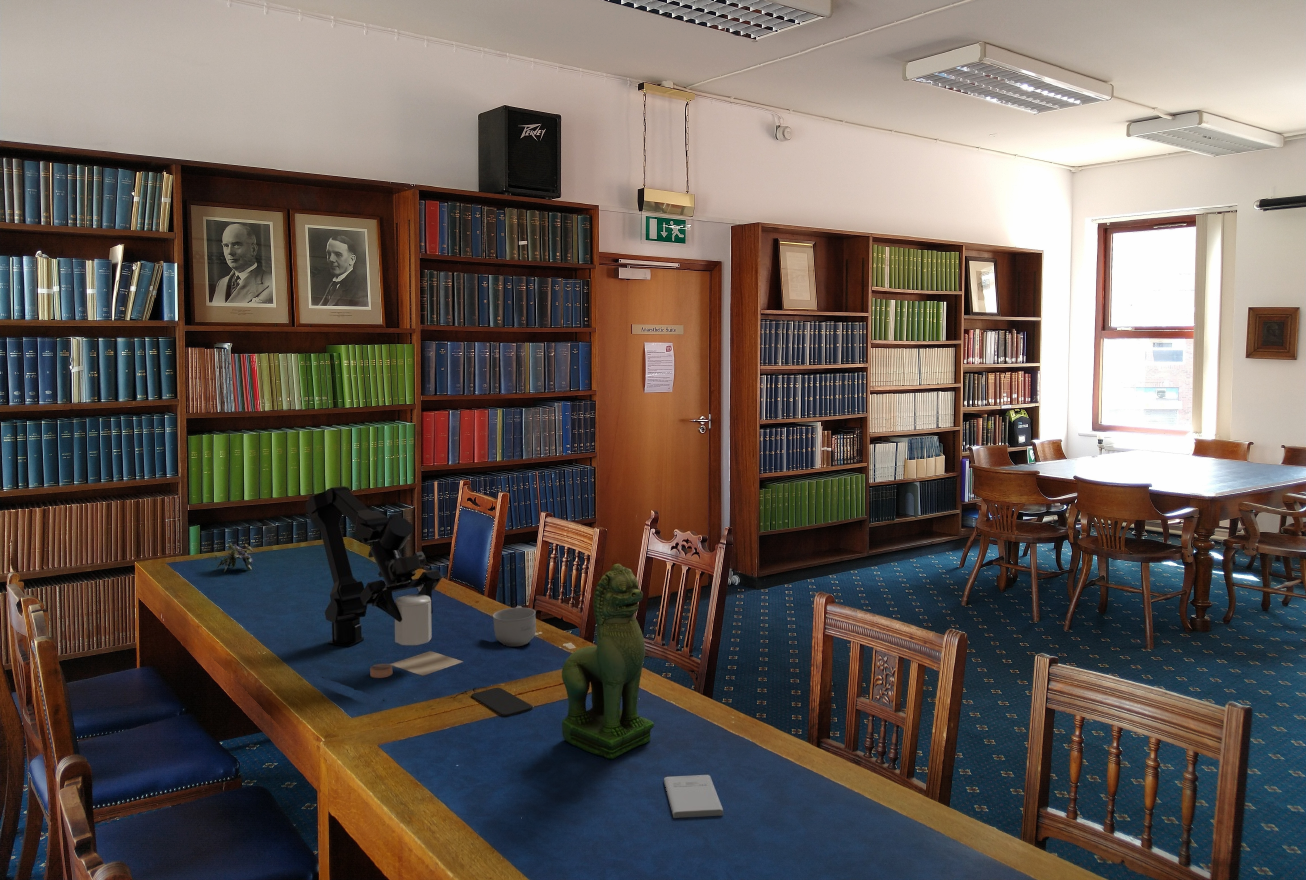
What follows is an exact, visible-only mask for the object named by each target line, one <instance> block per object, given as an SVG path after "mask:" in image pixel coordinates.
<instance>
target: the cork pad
mask: <svg viewBox="0 0 1306 880" xmlns="http://www.w3.org/2000/svg"><path fill="white" fill-rule="evenodd" d="M461 663H464V661H463V660H459V659H457V658H453V657H451V656H447V655H444V654H441V653H438V652H434V651H433V650H429V651H427V652H423V653H420V654H418V655H414V656H410V657H408V658H405V659H401V660H398V661H395V662H391V663H389V664H390V665H392V667H395V668H398V669H402V670H404V671H408V672H410V673H413V674H415V675H416V674H417V675H419V676H422V677H424V676H426V675H429V674H430V675H431V674H432V673H435V672H438V671H441V670H443V669H446V668H449V667H452V666H455V665H458V664H459V665H460V664H461Z"/></svg>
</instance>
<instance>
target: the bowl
mask: <svg viewBox="0 0 1306 880" xmlns="http://www.w3.org/2000/svg"><path fill="white" fill-rule="evenodd" d="M390 664H391V663H378V664H374V665H371V667H370V668H369V669H370V670H369V672H370V674H369V675H370V677H371V678H375V679H383V678H388V677H390V676H392V675H393V666H392V665H390Z"/></svg>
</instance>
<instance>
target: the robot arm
mask: <svg viewBox="0 0 1306 880" xmlns="http://www.w3.org/2000/svg"><path fill="white" fill-rule="evenodd" d="M305 510H306V512H307V514H308V516H309V519H310V521H311V522H312V523H313V525H314V526H315V527H316V528H317V529H319V530H320V534H321V539H322V542H323V547H324V550H325V551H324V552H325V554H326V557H327V561H328V565H329V569H330V573H331V577H332V583H333V585H332V588H331V591H330V594H329V598H330V602H329V604H328V605H327V607H326V609H325V610H324V616H325V620H327V621H328V622H330V623H331V635H332V636H331V640H330V641H328V642H327V643H328V645H333V646H340V647H341V646H343V647H351V646H353V645H355V644H357V643H359V642H362V641H363V640H365V636H362V624H361V618H365V617H366V614H367V610H368V605H371V606H372V607H373V608H374V607H376V608H377V609H380V610H381V611H383V612H385V613H386V614H387V615H388V616H390V617H392V618H393V619H394V620H395V619H396V620H397V621H398V622H401V621H402V617H401V614H400V612H399V610H398V608H397V606H396V604H395V599H394V597H393V593H395V592H399V591H404V590H405V591H406V590H411V589H414V588H416V590H417V592H418V593H417V595H426V596H429V597H430V600H431V615H432V614H433V612H434V610H433V598H432V597H433V596H432V595H433V594H432V593H433V591H434V590H435V589H436V588H437V586H438V585H439V583H440V582H441V580H443V576H442V574H441V572H440V571H439V570H438V569H431V570H425V571H422V573H421V574H420V576H419V577H418V578H414V579H413V577H414V576H415V575H416V574H417V573H416V571H417V570H421V569H422V567H423V566H425V565H426V564H427V558H426V555H425V554H424V552H423V551H418V552H415V553H413V554H412V555H411V556H402V555H401V552H400V550H401V549H402V548H403V547H404V546H405V544H406V542H407V541H408V540H409V538H410V536H411V534H412V533H413V530H414V527H413V524H412V523H411V522H410V521H409V520H407V519H406V518H404V517H400V515H399V514H398V513H393V514H389V516H386V515H385V514H383V513H381V512H378V511H374V510H371V509H369V508H368V507H367V506H366V505H365V504H364V503H363V502H362V501H361V500H359V498H358V497H357V496H355V495H354V494H353V493H352V492H351V489H350V488H349V486H345V485H344V486H343V485H342V486H332V487H329V488H326V489H325V491H322V492H319V493H317V494H312V495H310V496H309V498H308V500H306V501H305ZM343 515H344V516H345V517H346V518H347V519H348V520H349V521H350V522H351V523H352V524H353V525H354V533H355V535H356V536H357V538H358V539H359V540H360V541H361V542H362V543H363V544H365V543H370V542H373V544H372V545H370V549H369V551H368V555H367V556H368V558H369V559H370V558H374V561H375V563H376V564H377V567H378V570H379V572H378V573H377V575H378V576H379V578H383V579H379V580H374V581H370V582H369V581H368V582H367V583H366V585H365V586H364V582H363V581H361V580H357V579H356V578H355V577H354V576H353V572H352V568H351V563H350V560H349V555H348V551H347V548H346V544H345V541H344V537H343V532H342V530H341V529H342V528H341V525H340V523H341V520H342V517H343Z"/></svg>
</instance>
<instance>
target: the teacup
mask: <svg viewBox="0 0 1306 880" xmlns="http://www.w3.org/2000/svg"><path fill="white" fill-rule="evenodd" d="M536 613H537V612H536V610H535V609H534V608H529V607H522V606H521V605H517V606H516V607H510V608H504V609H501V610H498V611H496V612H494V613H493V614H492V619H493V629H494V630H493V631H494V636H495V639H496V640H497V641H498V642H499V643H501V644H502V645H503V646H505V645H506V647H520V646H522V647H523V646H524V645H527V644H528V643H530V641H531V640H532V639H533V638H535V636H536V633H537V632H536V631H537V622H536Z"/></svg>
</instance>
